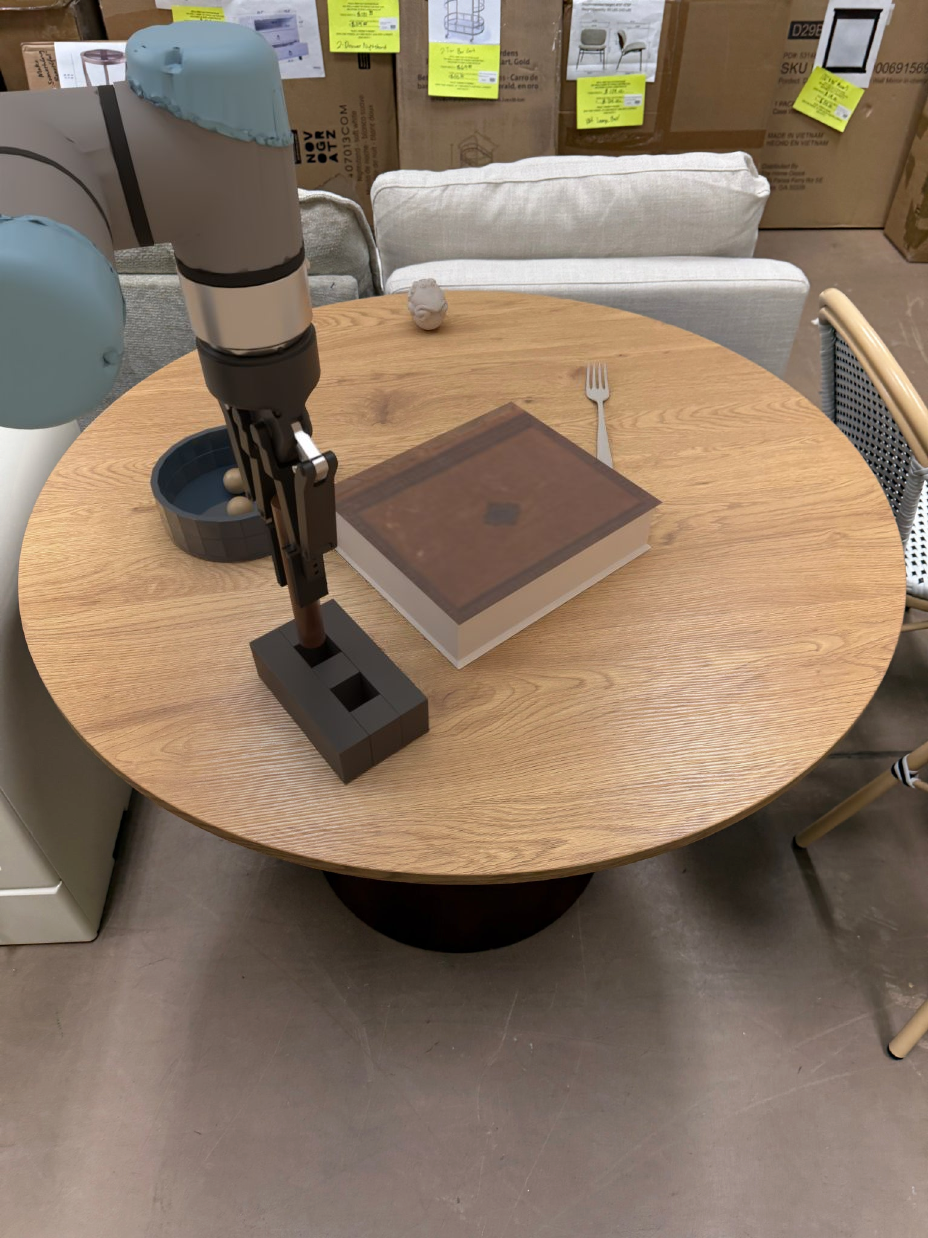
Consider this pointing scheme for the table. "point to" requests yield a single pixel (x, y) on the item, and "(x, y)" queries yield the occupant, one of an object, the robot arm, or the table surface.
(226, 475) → the bead
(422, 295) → the grey lumpy oval lump
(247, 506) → the bead
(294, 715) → the holder
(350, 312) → the table surface
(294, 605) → the stirring stick
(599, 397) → the fork
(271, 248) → the robot arm
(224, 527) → the bowl
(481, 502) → the book
